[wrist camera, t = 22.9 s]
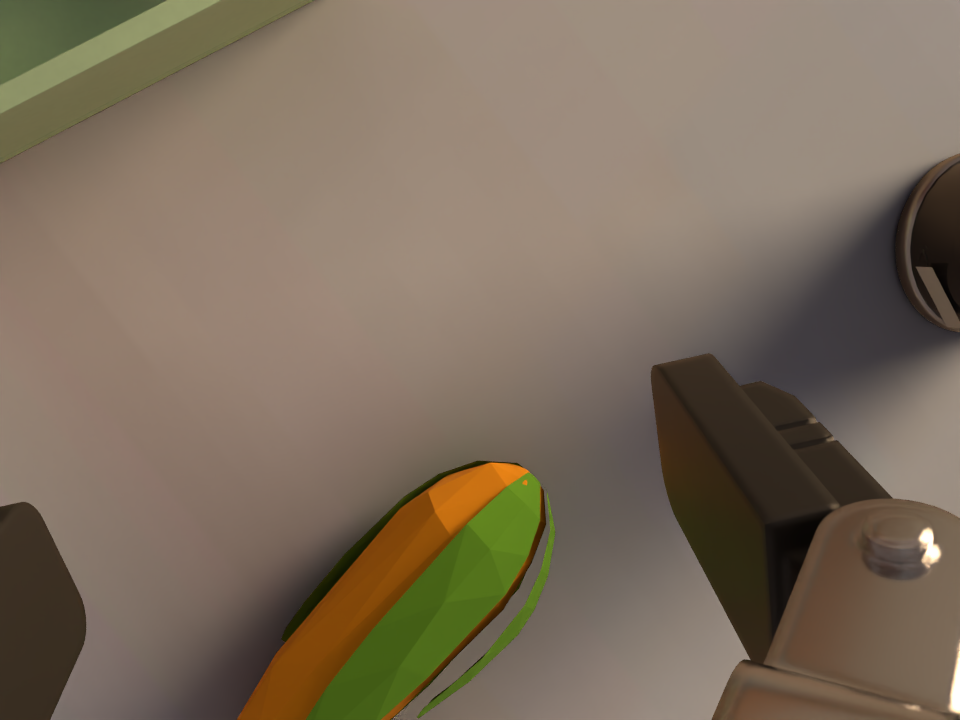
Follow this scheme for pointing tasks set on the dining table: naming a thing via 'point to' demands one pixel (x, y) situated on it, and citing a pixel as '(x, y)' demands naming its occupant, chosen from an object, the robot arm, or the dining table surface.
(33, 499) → the dining table surface
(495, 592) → the corn
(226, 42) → the tub
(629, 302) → the dining table surface
